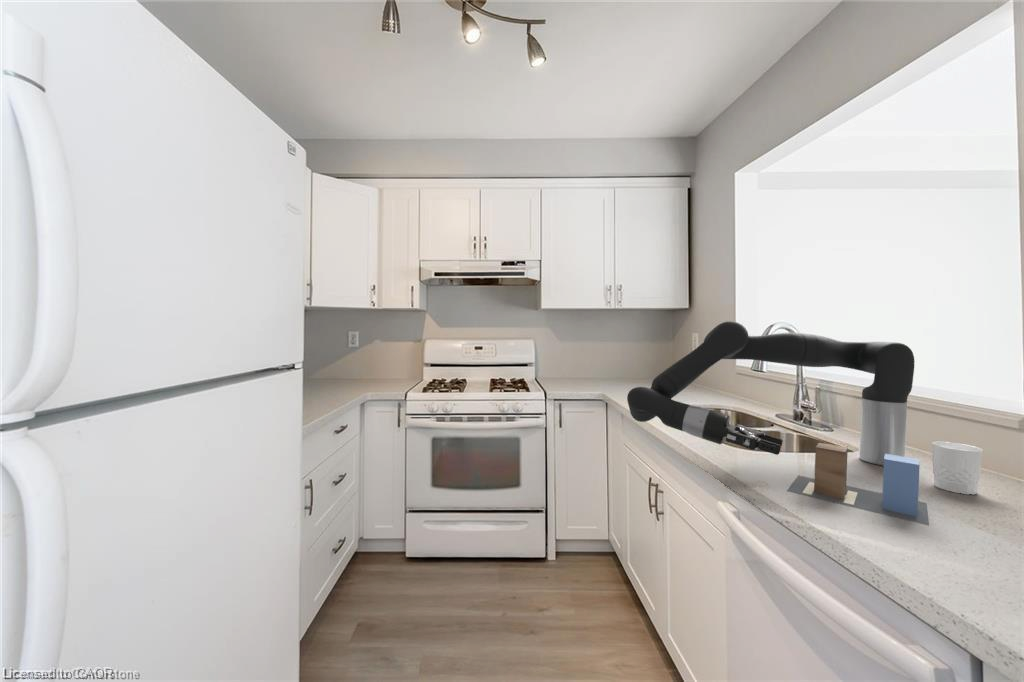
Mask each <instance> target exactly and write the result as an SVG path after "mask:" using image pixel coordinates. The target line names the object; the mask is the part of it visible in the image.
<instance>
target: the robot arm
mask: <svg viewBox="0 0 1024 682" xmlns="http://www.w3.org/2000/svg"><path fill="white" fill-rule="evenodd" d="M914 355H915V354H914V352H913V351H912V349H911V348H910V347H909V346H908V345H906V344H904V343H901V342H896V341H895V342H893V341H863V342H862V341H861V342H860V341H843V340H842V341H841V340H836V339H833V338H832V337H831V338H830V337H826V336H821V335H817V334H811V333H802V332H780V333H771V334H765V335H749V332H748V330H747V328H746V327H745V326H744V325H743V324H742V323H739V322H737V321H733V320H730V321H727V320H726V321H724V322H721V323H719V324H718V325H716V326H715V327H714V328H713V329H711V330H710V331H709V332H708V333H707V335H706V336H705V338H704V340H703V342H702V343H701V344H700V345H698V346H697V347H696V348H695V349H694V350H692V351H691V352H689V353H688V354H687V355H685V356H684V357H682V358H680V359H679V360H678V361H676V362H675V363H673V364H672V365H670V366H669V367H667V368H666V369H665V370H664V371H662V372H660V373H659V374H658V375H657V376H656V377H654V379H653V380H652V382H651V386H650V387H647V386H646V387H645V386H637V387H634V388H632V389H630V390H629V391H628V393H627V396H626V397H627V398H626V399H627V405H628V408H629V412H630V416H631V417H632V418H633V419H634V420H635V421H636V422H641V423H644V422H648V421H651V420H653V419H654V418H656V417H657V418H659V420H660V422H661V423H662V424H663V425H665V426H666V427H669V428H673V429H675V430H678V431H681V432H685V433H686V434H689V435H690V436H693V437H696V438H699V439H703V440H704V441H705V440H706V441H708V442H712V443H715V444H716V445H722V444H724V442H727V443H732V444H734V445H736V446H740V447H741V448H742V447H743V448H747V449H749V450H751V451H755V450H756V451H759V450H760V451H764V452H767V453H770V454H773V455H775V456H777V455H779V454H780V452H781V448H782V445H783V442H784V440H783V439H782V438H779V437H776V436H772V435H769V434H765V432H763V430H761V429H755V428H752V427H748V426H745V425H742V424H740V423H735V425H732V424H730V421H731V419H730V415H729V414H726V413H723V412H719V411H716V410H712V409H709V408H705V407H701V406H696V405H691V404H689V403H684V402H682V401H678V400H674V399H673V398H674V397H676V396H677V395H678V394H680V393H681V392H682V391H683V390H685V389H686V388H687V387H689V386H690V385H691V384H692V383H694V381H695V380H697V379H698V378H699V377H700V376H701V375H702V374H704V373H705V372H706V371H707V370H708V369H710V368H711V367H713V366H714V365H715V364H717V363H718V362H720V361H721V360H748V361H749V360H753V361H760V362H768V363H776V364H784V365H790V366H799V367H808V368H810V367H811V368H829V367H838V368H839V367H840V368H845V369H851V370H856V371H860V372H861V371H862V372H865V373H868V374H873V375H874V377H873V382H872V384H871V385H869V386H866V387H864V388H862V390H861V412H860V413H861V417H860V439H859V440H860V441H859V443H860V444H859V459H860V460H862V461H864V462H866V463H870V464H874V465H878V466H883V467H884V456H885V454H890V455H897V456H903V457H906V443H907V441H906V439H907V436H906V435H907V417H908V413H907V412H908V411H907V410H908V397H909V395H910V393H911V392H912V388H913V383H914V374H915V361H916V360H915V356H914Z"/></svg>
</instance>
